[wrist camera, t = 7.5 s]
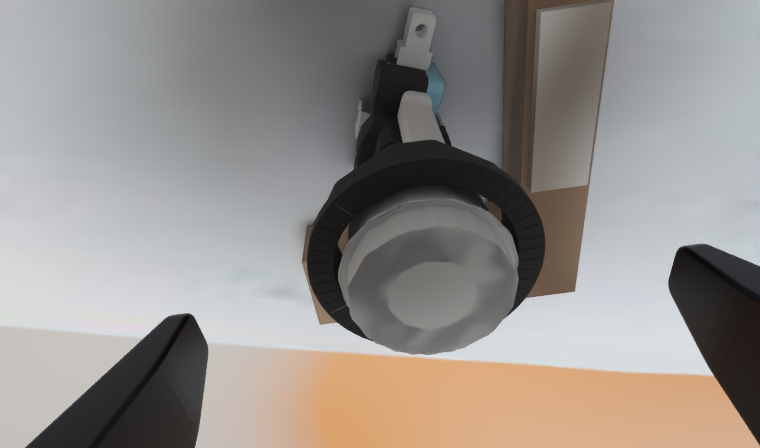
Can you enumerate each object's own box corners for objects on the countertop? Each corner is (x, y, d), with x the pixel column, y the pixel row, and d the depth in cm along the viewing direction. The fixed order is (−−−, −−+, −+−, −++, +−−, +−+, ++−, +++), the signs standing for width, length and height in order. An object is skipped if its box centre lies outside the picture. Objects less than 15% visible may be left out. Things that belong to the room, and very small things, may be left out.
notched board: (601, -239, 13) (659, -273, 10) (554, 255, 22) (578, 297, 20) (201, -173, 13) (167, -191, 11) (322, 286, 23) (319, 331, 20)
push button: (344, -12, 16) (334, 84, 7) (496, 22, 16) (644, 142, 8) (316, 167, 19) (289, 368, 11) (443, 188, 20) (508, 389, 12)
